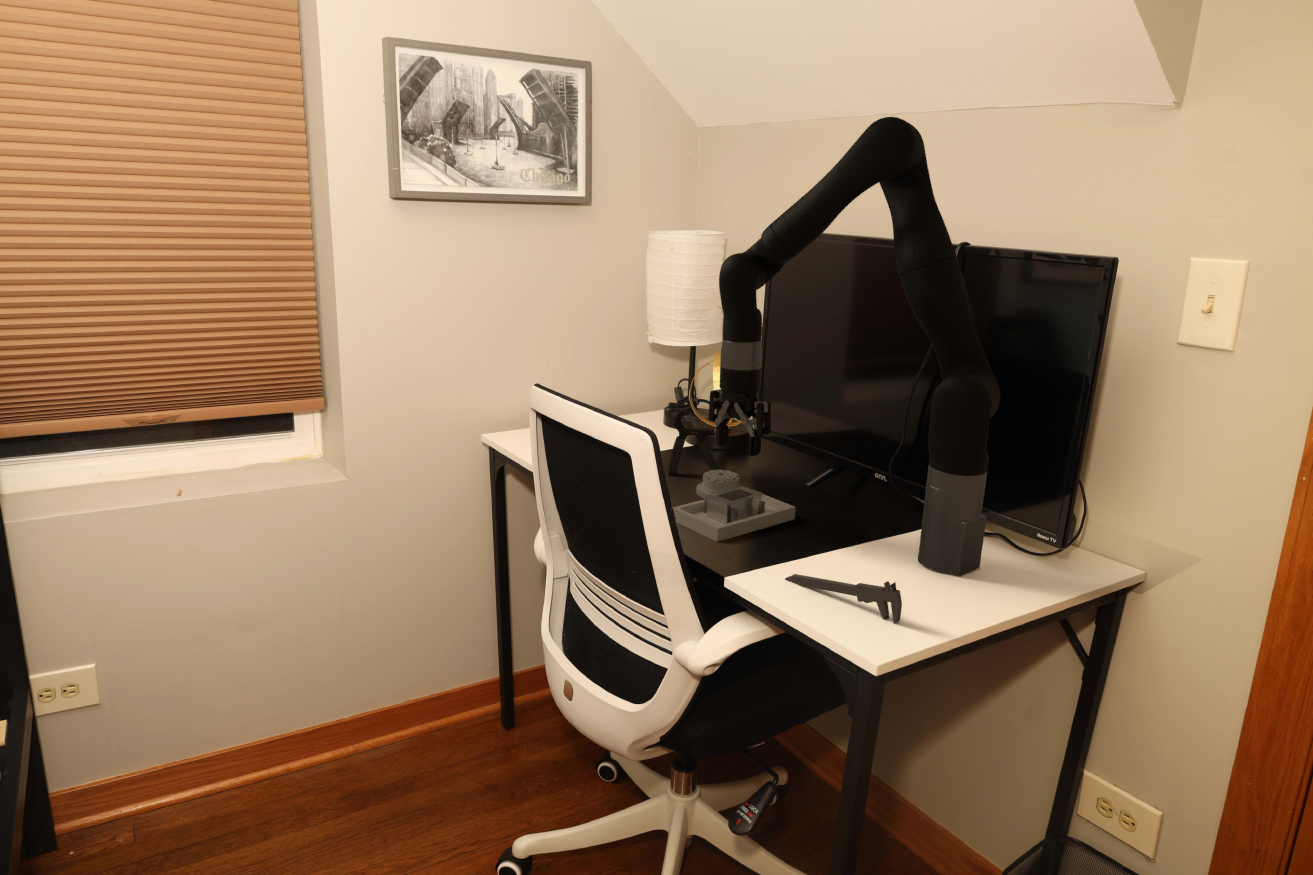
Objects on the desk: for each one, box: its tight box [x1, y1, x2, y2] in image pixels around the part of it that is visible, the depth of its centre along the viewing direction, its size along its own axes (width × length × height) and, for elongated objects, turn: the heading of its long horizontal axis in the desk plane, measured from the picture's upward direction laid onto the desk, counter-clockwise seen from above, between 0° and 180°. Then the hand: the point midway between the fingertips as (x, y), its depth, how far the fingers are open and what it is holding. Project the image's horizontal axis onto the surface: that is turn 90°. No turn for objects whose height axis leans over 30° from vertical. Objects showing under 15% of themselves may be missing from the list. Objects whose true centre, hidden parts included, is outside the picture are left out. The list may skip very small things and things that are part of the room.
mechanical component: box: [695, 469, 743, 499], centre depth 180 cm, size 10×4×10 cm
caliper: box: [784, 573, 903, 624], centre depth 133 cm, size 20×1×6 cm, turn 45°
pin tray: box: [672, 493, 797, 543], centre depth 166 cm, size 13×20×4 cm, turn 128°
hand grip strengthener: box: [667, 408, 724, 477], centre depth 189 cm, size 2×12×15 cm, turn 78°
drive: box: [707, 485, 763, 524], centre depth 165 cm, size 5×10×4 cm, turn 134°
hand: (737, 450), depth 162 cm, fingers open, 8 cm apart
